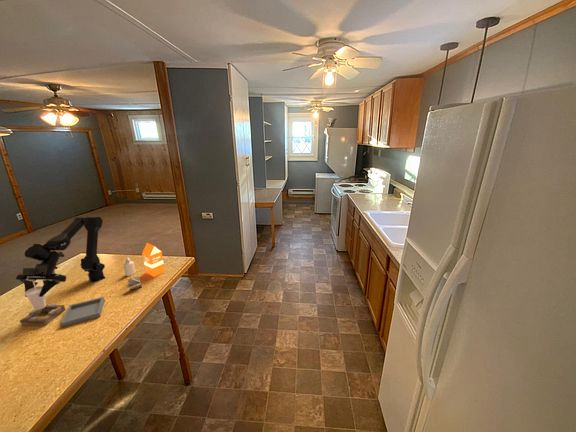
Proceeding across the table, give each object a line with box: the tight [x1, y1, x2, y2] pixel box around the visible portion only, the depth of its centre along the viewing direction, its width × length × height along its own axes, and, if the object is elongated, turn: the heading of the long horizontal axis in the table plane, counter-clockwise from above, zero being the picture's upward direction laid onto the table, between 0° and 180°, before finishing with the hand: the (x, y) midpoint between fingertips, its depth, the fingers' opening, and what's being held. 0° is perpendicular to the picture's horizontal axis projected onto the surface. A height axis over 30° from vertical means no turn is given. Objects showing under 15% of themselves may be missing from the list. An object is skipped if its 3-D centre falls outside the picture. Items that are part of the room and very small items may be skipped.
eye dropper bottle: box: [123, 256, 137, 277], centre depth 148 cm, size 4×6×12 cm
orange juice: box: [142, 242, 166, 278], centre depth 150 cm, size 8×9×20 cm
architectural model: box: [126, 275, 142, 290], centre depth 134 cm, size 3×7×7 cm, turn 129°
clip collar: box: [19, 303, 66, 327], centre depth 113 cm, size 11×11×4 cm
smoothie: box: [24, 281, 47, 310], centre depth 109 cm, size 6×6×14 cm
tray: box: [60, 296, 105, 328], centre depth 116 cm, size 14×14×2 cm
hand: (33, 296), depth 108 cm, fingers closed on smoothie, 6 cm apart
